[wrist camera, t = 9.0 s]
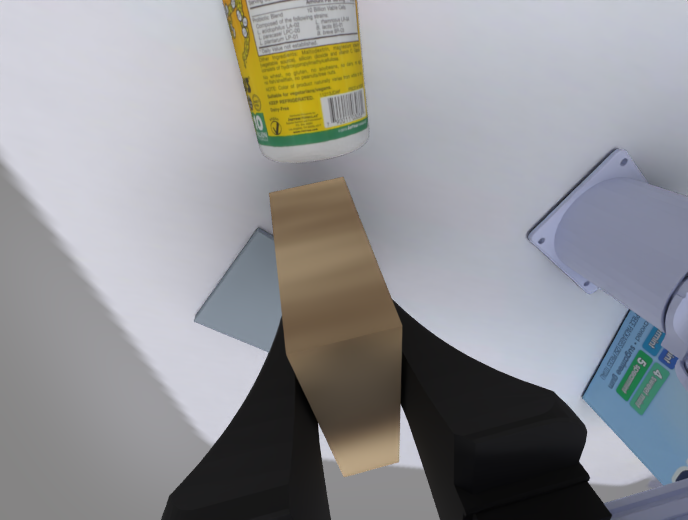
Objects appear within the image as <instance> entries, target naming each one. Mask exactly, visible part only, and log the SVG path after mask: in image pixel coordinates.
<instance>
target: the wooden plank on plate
mask: <svg viewBox="0 0 688 520" xmlns="http://www.w3.org/2000/svg"><path fill="white" fill-rule="evenodd" d="M269 197H270V206H271V216H272V225H273V235H274V244H275V254H276V263H277V273H278V282H279V292H280V301H281V311H282V320H283V330H284V339H285V348H286V355H287V357H288V360H289V362H290V364H291V366H292V368H293V370H294V372H295V374H296V377H297V379H298V381H299V383H300V385H301V387H302V389H303V391H304V394H305V396H306V398H307V400H308V402H309V404H310V406H311V408H312V411H313V413H314V415H315V417H316V419H317V421H318V423H319V425H320V427H321V430H322V432H323V434H324V436H325V438H326V440H327V442H328V444H329V447H330V449H331V451H332V453H333V455H334V457H335V459H336V461H337V464H338V465H339V468H340V470H341V472H342V474H343V476H344V477H347V476H351V475H354V474H358V473H361V472H365V471H369V470H372V469H376V468H380V467H383V466H387V465H390V464H394V463H398V462H399V441H400V401H401V361H402V324H401V321H400V318H399V316H398V313H397V311H396V308H395V306H394V303H393V301H392V298H391V296H390V293H389V291H388V288H387V286H386V283H385V281H384V278H383V276H382V273H381V271H380V268H379V266H378V263H377V260H376V258H375V255H374V253H373V250H372V248H371V245H370V243H369V240H368V238H367V235H366V233H365V230H364V228H363V225H362V223H361V220H360V218H359V215H358V213H357V210H356V208H355V205H354V203H353V200H352V197H351V195H350V192H349V190H348V187H347V185H346V182H345V180H344V177H340V178H336V179H331V180H326V181H322V182H317V183H313V184H308V185H303V186H299V187H294V188H289V189H285V190H280V191H275V192H271V193H269Z"/></svg>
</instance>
